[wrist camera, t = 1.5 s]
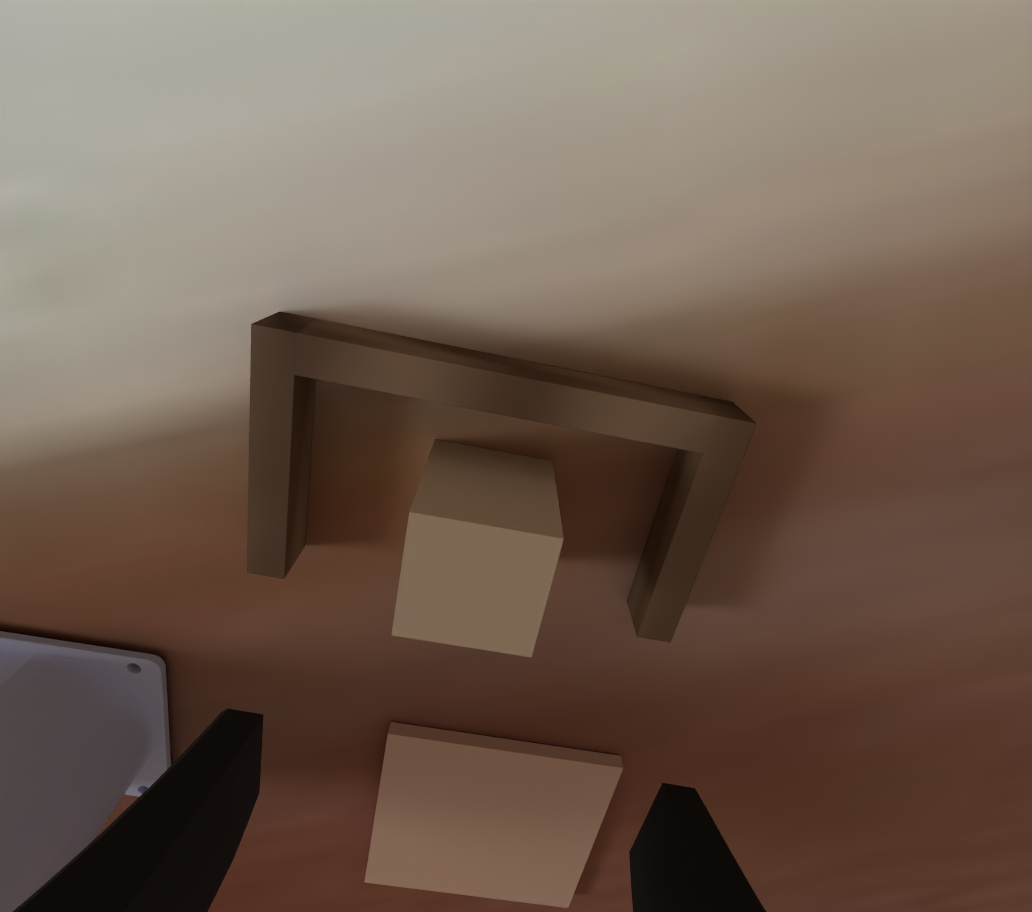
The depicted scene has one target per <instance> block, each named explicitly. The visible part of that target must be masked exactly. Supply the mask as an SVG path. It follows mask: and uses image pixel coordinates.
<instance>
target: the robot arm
mask: <svg viewBox="0 0 1032 912" xmlns="http://www.w3.org/2000/svg"><path fill="white" fill-rule="evenodd" d="M136 664H137V665H136ZM262 732H263V715H262V714H256V713H250V712H244V711H239V710H233V709H226V710H225V711H223V712H221V713H220V714H219V715H218V716H217V718H216V719H215V720H214V721H213V722H212V723H211V724H210V725H209V726H208V727H207V728H206V730H205V731H204V732H203V733H202V734H201V735H200V736H199V737H198V738H197V739H196V740H195V741H194V742H193V743H192V744H191V746H190V747H189V748H188V749H187V750H186V751H185V752H184V753H183V754H182V755H181V756H180V757H179V758H178V759H177V760H176V761H175V762H174V763H173V764H172V765H171V757H170V738H169V719H168V701H167V682H166V665H165V662H164V661H163V660H162V658H160V657H159V656H157V655H153V654H148V653H141V652H134V651H128V650H121V649H115V648H108V647H101V646H95V645H88V644H82V643H75V642H69V641H62V640H55V639H49V638H42V637H36V636H29V635H23V634H16V633H9V632H3V631H0V912H207V911H208V909H209V907H210V905H211V903H212V901H213V899H214V897H215V895H216V893H217V891H218V889H219V887H220V885H221V883H222V881H223V879H224V877H225V875H226V873H227V871H228V869H229V867H230V865H231V863H232V861H233V859H234V856H235V854H236V851H237V849H238V846H239V844H240V841H241V839H242V836H243V834H244V831H245V829H246V826H247V823H248V821H249V818H250V816H251V813H252V810H253V808H254V805H255V803H256V800H257V797H258V795H259V788H260V769H261V751H262ZM124 794H125V795H132V796H140V797H139V798H138V799H137V800H136V801H135V802H134V803H132V804H131V805H130V806H129V807H128V808H127V809H126V810H125V811H124V812H123V813H122V814H121V815H120V816H119V817H118V818H117V819H116V820H115V821H114V822H113V823H112V824H111V825H110V826H108V827H107V828H106V829H105V830H104V831H103V832H102V833H101V834H100V835H99V836H98V837H97V838H96V839H95V837H96V836H97V834H98V833H99V831H100V830H101V828H102V827H103V825H104V824H105V822H106V821H107V819H108V818H109V816H110V815H111V814H112V812H113V811H114V809H115V808H116V806H117V805H118V803H119V802H120V800H121V799H122V797H123V796H124ZM629 854H630V871H631V888H632V901H633V912H766V911H765V909H764V908H763V906H762V904H761V903H760V901H759V899H758V898H757V896H756V894H755V893H754V891H753V889H752V887H751V886H750V884H749V882H748V881H747V879H746V877H745V875H744V874H743V872H742V870H741V868H740V867H739V865H738V863H737V861H736V860H735V858H734V856H733V855H732V853H731V851H730V849H729V847H728V846H727V844H726V842H725V840H724V839H723V837H722V835H721V833H720V832H719V830H718V828H717V826H716V824H715V823H714V821H713V819H712V817H711V816H710V814H709V812H708V810H707V808H706V807H705V805H704V803H703V801H702V800H701V798H700V796H699V794H698V793H697V791H696V790H695V788H690V787H684V786H678V785H672V784H666V783H662V785H661V787H660V789H659V792H658V794H657V796H656V798H655V800H654V802H653V804H652V806H651V808H650V810H649V812H648V815H647V817H646V819H645V821H644V823H643V825H642V827H641V829H640V831H639V833H638V835H637V838H636V840H635V842H634V844H633V846H632V848H631V850H630V852H629Z"/></svg>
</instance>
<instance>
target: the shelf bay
mask: <svg viewBox="0 0 1032 912" xmlns="http://www.w3.org/2000/svg"><path fill="white" fill-rule="evenodd" d="M316 379H318V380H323V381H328V382H334V383H339V384H344V385H349V386H354V387H360V388H365V389H370V390H375V391H381V392H386V393H391V394H396V395H401V396H407V397H412V398H417V399H422V400H427V401H433V402H438V403H443V404H448V405H454V406H459V407H464V408H469V409H474V410H480V411H485V412H490V413H495V414H500V415H506V416H511V417H516V418H521V419H527V420H532V421H537V422H542V423H547V424H553V425H558V426H563V427H568V428H573V429H579V430H584V431H589V432H594V433H600V434H605V435H610V436H615V437H620V438H626V439H631V440H636V441H641V442H646V443H652V444H657V445H662V446H667V447H673V448H678V452H677V455H676V458H675V461H674V464H673V467H672V470H671V473H670V476H669V479H668V482H667V485H666V487H665V490H664V493H663V496H662V499H661V502H660V505H659V508H658V511H657V514H656V517H655V520H654V523H653V525H652V528H651V531H650V534H649V537H648V540H647V543H646V546H645V549H644V552H643V555H642V558H641V561H640V564H639V566H638V569H637V572H636V575H635V578H634V581H633V584H632V587H631V590H630V593H629V596H628V599H627V602H628V606H629V610H630V613H631V617H632V620H633V624H634V628H635V631H636V635H637V637H641V638H647V639H653V640H659V641H665V642H671V640H672V638H673V635H674V633H675V630H676V627H677V625H678V622H679V620H680V617H681V615H682V612H683V610H684V607H685V605H686V602H687V599H688V597H689V594H690V592H691V589H692V587H693V584H694V582H695V579H696V577H697V574H698V571H699V569H700V566H701V564H702V561H703V559H704V556H705V554H706V551H707V549H708V546H709V543H710V541H711V538H712V536H713V533H714V531H715V528H716V526H717V523H718V521H719V518H720V515H721V513H722V510H723V508H724V505H725V503H726V500H727V498H728V495H729V493H730V490H731V487H732V485H733V482H734V480H735V477H736V475H737V472H738V470H739V467H740V465H741V462H742V459H743V457H744V454H745V452H746V449H747V447H748V444H749V442H750V439H751V437H752V434H753V431H754V429H755V426H756V423H755V422H754V421H753V420H752V419H751V418H750V417H749V416H748V415H746V414H745V413H744V412H743V411H742V410H741V409H740V408H739V407H738V406H736V405H735V404H734V403H733V402H729V401H724V400H719V399H714V398H709V397H704V396H699V395H694V394H689V393H684V392H679V391H674V390H669V389H664V388H659V387H654V386H649V385H644V384H639V383H634V382H629V381H624V380H619V379H614V378H609V377H604V376H599V375H594V374H589V373H584V372H579V371H574V370H569V369H564V368H559V367H554V366H549V365H544V364H539V363H534V362H529V361H524V360H519V359H514V358H509V357H504V356H499V355H494V354H489V353H484V352H479V351H474V350H469V349H464V348H459V347H454V346H449V345H444V344H439V343H434V342H429V341H424V340H419V339H414V338H409V337H404V336H399V335H394V334H389V333H384V332H379V331H374V330H369V329H364V328H359V327H354V326H349V325H344V324H339V323H334V322H329V321H324V320H319V319H314V318H309V317H304V316H299V315H294V314H289V313H284V312H278V313H275V314H273V315H271V316H269V317H266V318H264V319H262V320H259V321H257V322H255V323H253V324H251V377H250V432H249V487H248V542H247V573H252V574H258V575H264V576H270V577H276V578H282V579H284V578H285V577H286V575H287V573H288V572H289V570H290V569H291V567H292V566H293V564H294V562H295V561H296V559H297V558H298V556H299V554H300V553H301V551H302V550H303V548H304V546H305V537H306V522H307V506H308V491H309V476H310V460H311V445H312V429H313V414H314V398H315V383H316Z"/></svg>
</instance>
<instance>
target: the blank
mask: <svg viewBox="0 0 1032 912" xmlns="http://www.w3.org/2000/svg"><path fill="white" fill-rule="evenodd" d="M563 540H564V537H563V530H562V523H561V516H560V509H559V502H558V495H557V488H556V481H555V474H554V467H553V461H549V460H544V459H538V458H533V457H528V456H522V455H517V454H512V453H506V452H501V451H495V450H490V449H485V448H479V447H474V446H468V445H463V444H458V443H452V442H447V441H442V440H436V439H435V441H434V444H433V447H432V449H431V452H430V455H429V458H428V461H427V464H426V466H425V469H424V472H423V475H422V478H421V481H420V483H419V486H418V489H417V492H416V495H415V497H414V500H413V503H412V506H411V509H410V512H409V518H408V525H407V532H406V539H405V545H404V552H403V559H402V566H401V573H400V580H399V587H398V594H397V601H396V608H395V615H394V621H393V628H392V635H393V636H399V637H405V638H412V639H418V640H424V641H431V642H437V643H443V644H450V645H456V646H462V647H469V648H475V649H481V650H488V651H494V652H500V653H507V654H513V655H519V656H526V657H532V654H533V650H534V646H535V643H536V639H537V635H538V632H539V628H540V624H541V621H542V617H543V613H544V610H545V606H546V602H547V599H548V595H549V591H550V588H551V584H552V580H553V577H554V573H555V569H556V565H557V562H558V558H559V554H560V551H561V547H562V543H563Z"/></svg>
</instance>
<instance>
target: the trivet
mask: <svg viewBox="0 0 1032 912" xmlns="http://www.w3.org/2000/svg"><path fill="white" fill-rule="evenodd" d="M622 770H623V764H622V759H621V756H619V755H612V754H605V753H598V752H592V751H585V750H578V749H571V748H565V747H558V746H551V745H544V744H537V743H531V742H524V741H517V740H510V739H504V738H497V737H490V736H483V735H477V734H470V733H463V732H456V731H450V730H443V729H436V728H429V727H422V726H416V725H409V724H402V723H395V722H391V723H390V727H389V731H388V735H387V742H386V748H385V755H384V761H383V767H382V774H381V780H380V787H379V793H378V799H377V806H376V812H375V819H374V825H373V831H372V838H371V844H370V851H369V857H368V863H367V870H366V876H365V882H366V883H374V884H382V885H390V886H398V887H406V888H414V889H422V890H429V891H437V892H445V893H453V894H461V895H469V896H477V897H485V898H493V899H501V900H509V901H517V902H525V903H533V904H541V905H549V906H557V907H564V908H568V907H569V904H570V902H571V899H572V897H573V894H574V892H575V889H576V887H577V884H578V882H579V879H580V877H581V874H582V872H583V869H584V866H585V864H586V861H587V859H588V856H589V854H590V851H591V849H592V846H593V844H594V841H595V839H596V836H597V834H598V831H599V829H600V826H601V823H602V821H603V818H604V816H605V813H606V811H607V808H608V806H609V803H610V801H611V798H612V796H613V793H614V791H615V788H616V785H617V783H618V780H619V778H620V775H621V773H622Z"/></svg>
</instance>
